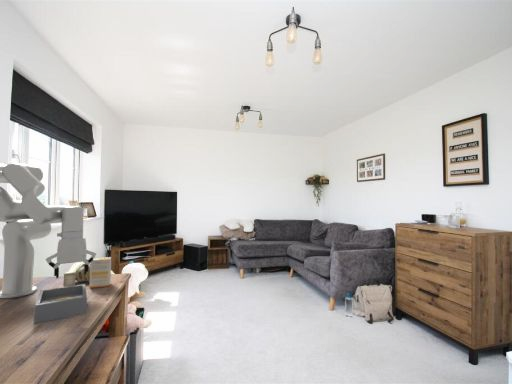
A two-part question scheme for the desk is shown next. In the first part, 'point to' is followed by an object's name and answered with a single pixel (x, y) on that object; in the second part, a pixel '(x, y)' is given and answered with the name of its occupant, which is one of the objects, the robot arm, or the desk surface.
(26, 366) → the desk surface
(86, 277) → the ceramic sculpture
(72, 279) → the peg
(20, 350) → the desk surface
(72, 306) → the bore box
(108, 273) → the supplement box
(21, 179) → the robot arm
